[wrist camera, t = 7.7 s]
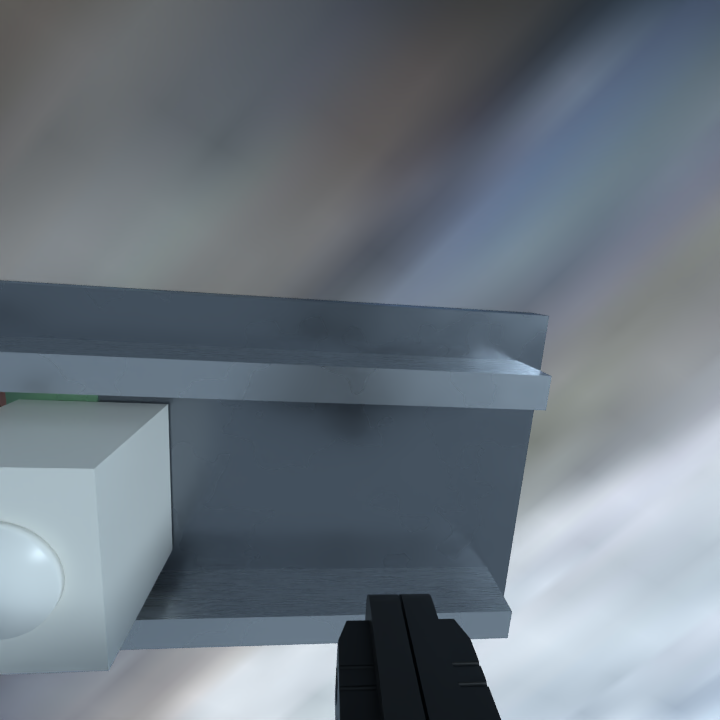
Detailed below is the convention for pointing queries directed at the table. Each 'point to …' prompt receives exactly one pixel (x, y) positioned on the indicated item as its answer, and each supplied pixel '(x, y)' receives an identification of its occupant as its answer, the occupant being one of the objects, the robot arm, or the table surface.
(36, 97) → the table surface
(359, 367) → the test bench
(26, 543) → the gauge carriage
